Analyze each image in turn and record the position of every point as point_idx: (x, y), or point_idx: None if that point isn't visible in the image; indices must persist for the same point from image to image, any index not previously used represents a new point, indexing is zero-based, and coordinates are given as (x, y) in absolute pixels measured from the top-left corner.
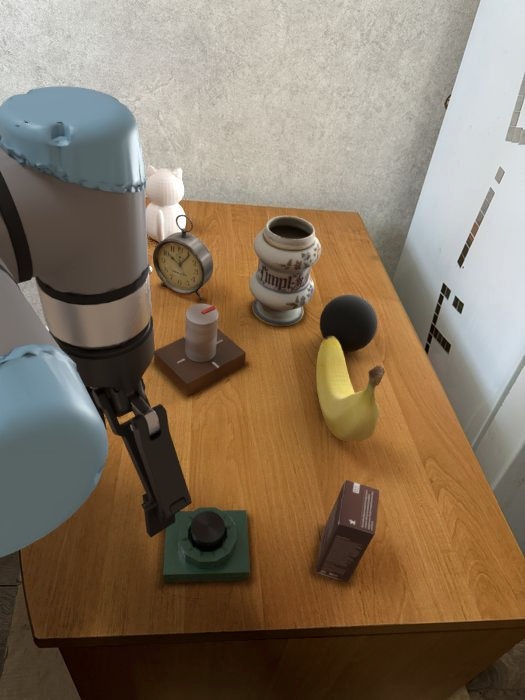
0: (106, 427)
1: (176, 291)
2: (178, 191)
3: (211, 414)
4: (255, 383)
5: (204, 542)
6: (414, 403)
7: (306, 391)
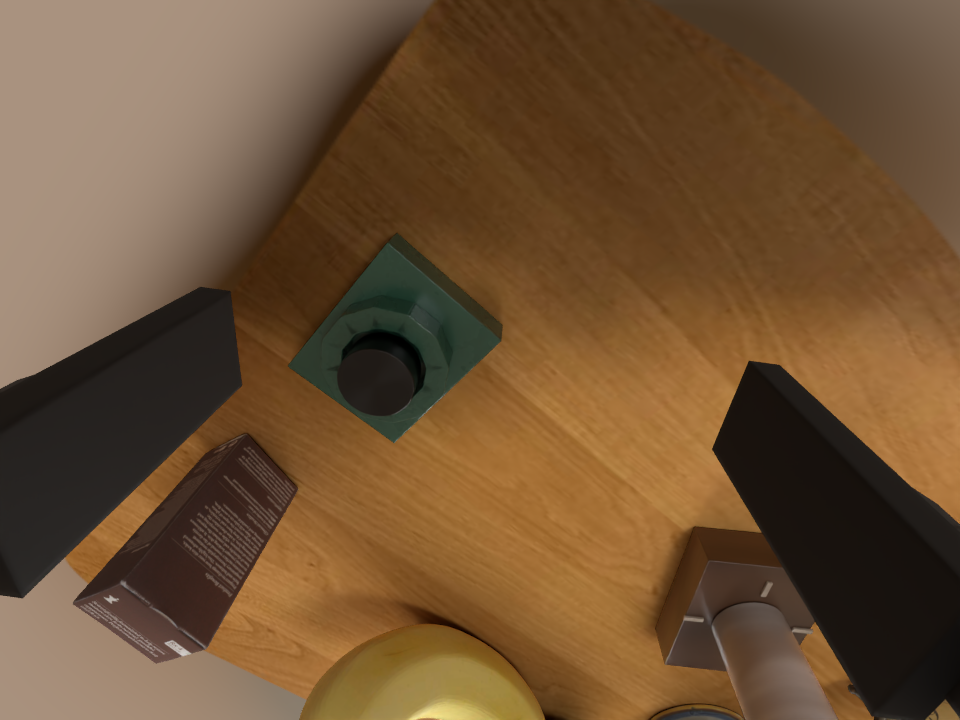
0: (717, 457)
1: None
2: None
3: (621, 527)
4: (607, 612)
5: (349, 354)
6: None
7: (523, 644)
